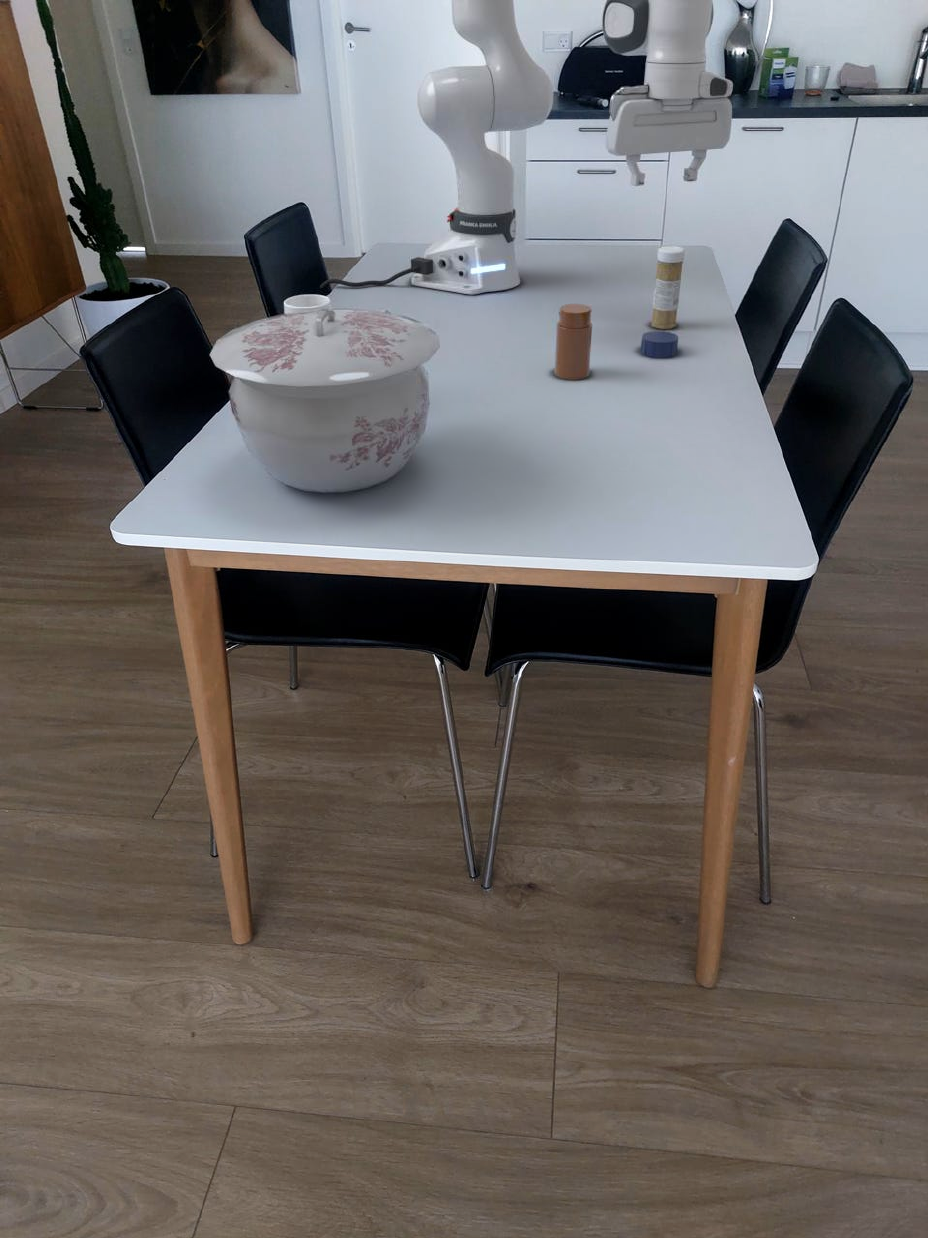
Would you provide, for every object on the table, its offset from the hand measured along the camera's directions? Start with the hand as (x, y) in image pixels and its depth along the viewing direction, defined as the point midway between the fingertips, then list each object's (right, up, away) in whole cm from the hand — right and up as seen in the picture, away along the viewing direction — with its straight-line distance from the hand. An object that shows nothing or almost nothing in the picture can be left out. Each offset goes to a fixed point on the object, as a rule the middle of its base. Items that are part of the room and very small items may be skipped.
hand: (663, 182), depth 151 cm
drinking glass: (-54, -37, -8) cm, 66 cm away
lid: (+1, -23, +7) cm, 24 cm away
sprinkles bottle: (+4, -17, +20) cm, 27 cm away
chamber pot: (-48, -50, -28) cm, 75 cm away
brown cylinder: (-15, -30, 0) cm, 34 cm away
